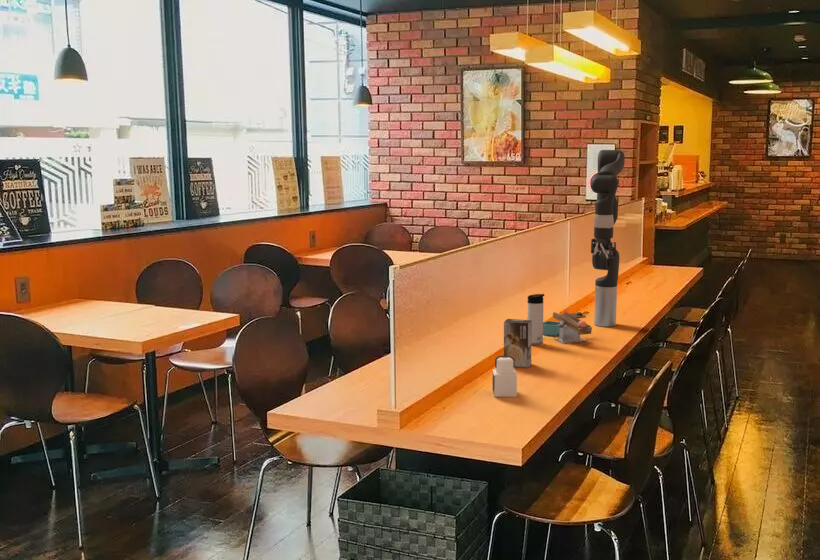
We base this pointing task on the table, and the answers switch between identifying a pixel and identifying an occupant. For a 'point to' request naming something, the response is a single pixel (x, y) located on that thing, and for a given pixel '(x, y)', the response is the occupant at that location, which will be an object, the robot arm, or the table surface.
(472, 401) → the table surface
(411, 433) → the table surface
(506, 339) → the coffee box
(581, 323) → the ball
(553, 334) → the teal square bin
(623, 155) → the robot arm
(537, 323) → the travel mug
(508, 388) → the medicine bottle
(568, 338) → the fulcrum
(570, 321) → the lever
